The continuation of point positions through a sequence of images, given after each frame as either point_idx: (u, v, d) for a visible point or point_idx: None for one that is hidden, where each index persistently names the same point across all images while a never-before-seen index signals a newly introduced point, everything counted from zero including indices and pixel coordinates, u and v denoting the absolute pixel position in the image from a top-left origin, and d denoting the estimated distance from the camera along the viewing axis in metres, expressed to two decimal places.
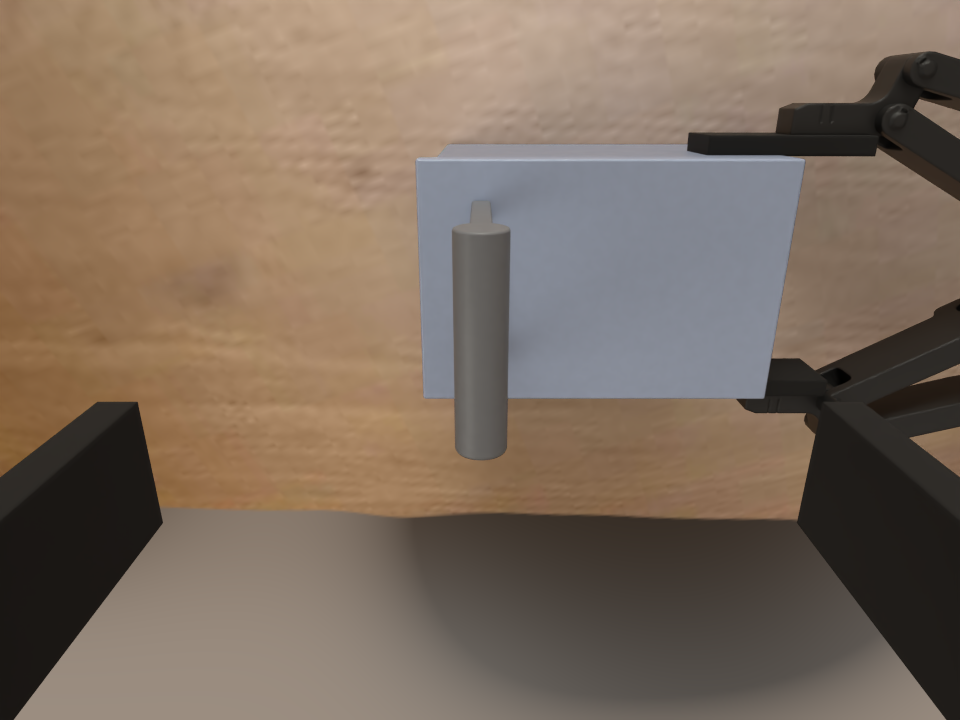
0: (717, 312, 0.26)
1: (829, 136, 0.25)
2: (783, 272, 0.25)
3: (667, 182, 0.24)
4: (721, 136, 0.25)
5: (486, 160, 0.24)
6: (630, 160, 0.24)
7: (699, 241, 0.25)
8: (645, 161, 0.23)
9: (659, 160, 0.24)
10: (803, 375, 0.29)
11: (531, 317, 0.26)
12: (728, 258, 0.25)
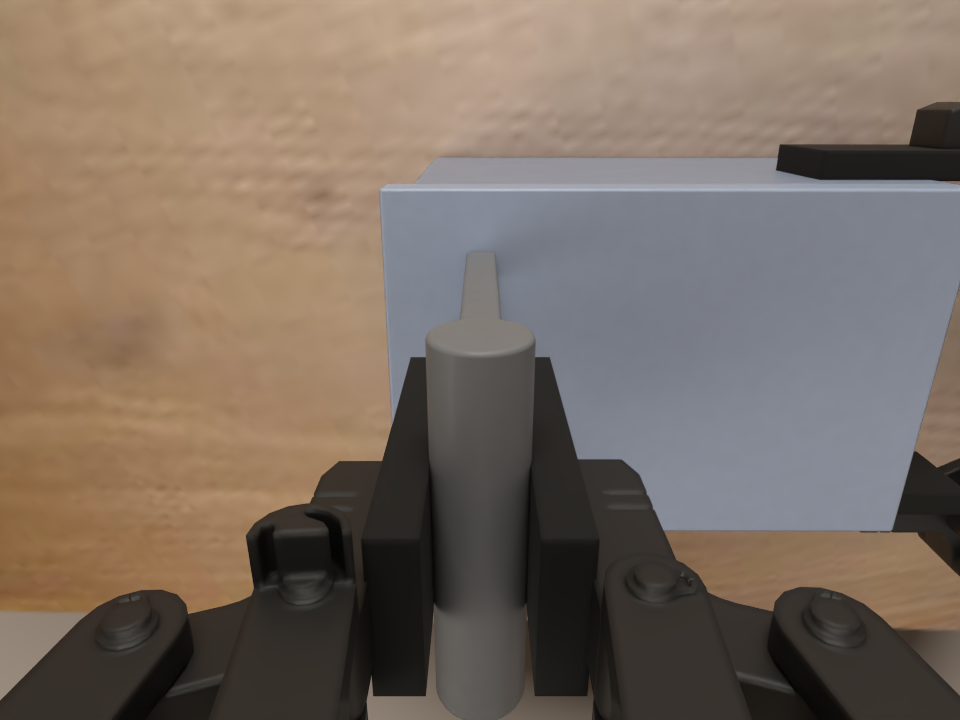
0: (832, 413, 0.17)
1: None
2: (936, 357, 0.17)
3: (768, 223, 0.15)
4: (842, 152, 0.17)
5: (489, 190, 0.15)
6: (713, 190, 0.15)
7: (812, 311, 0.16)
8: (736, 192, 0.15)
9: (758, 190, 0.15)
10: (932, 484, 0.21)
11: None
12: (854, 336, 0.16)
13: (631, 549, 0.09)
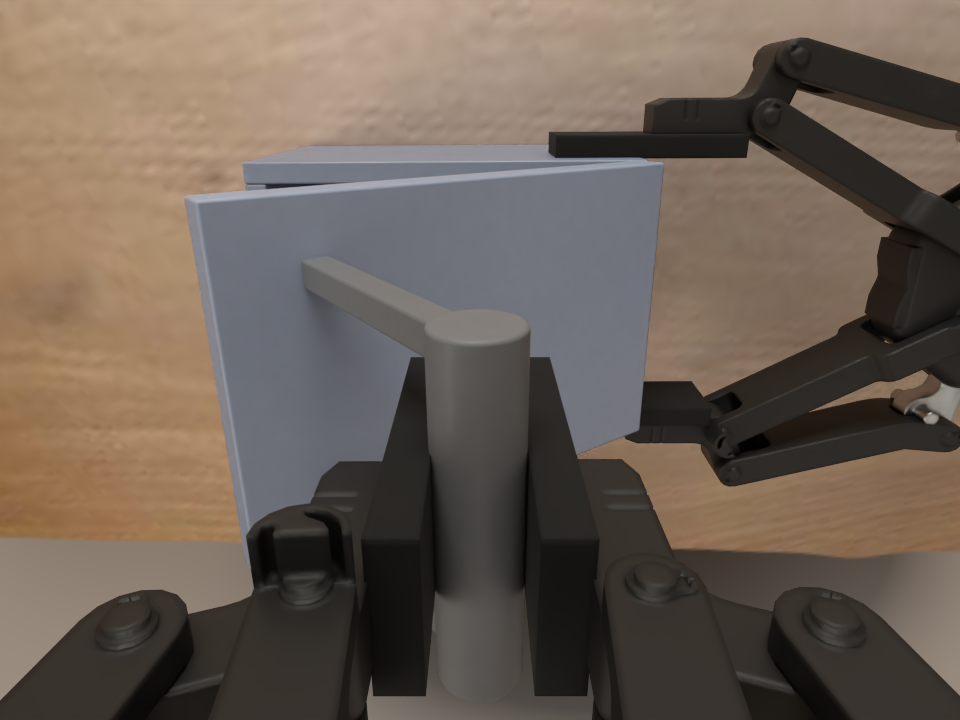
0: (597, 349, 0.21)
1: (693, 135, 0.22)
2: (650, 290, 0.22)
3: (544, 202, 0.18)
4: (569, 136, 0.22)
5: (316, 192, 0.14)
6: (504, 177, 0.17)
7: (578, 270, 0.20)
8: (521, 177, 0.17)
9: (534, 174, 0.18)
10: (687, 402, 0.26)
11: None
12: (604, 284, 0.21)
13: (631, 549, 0.09)
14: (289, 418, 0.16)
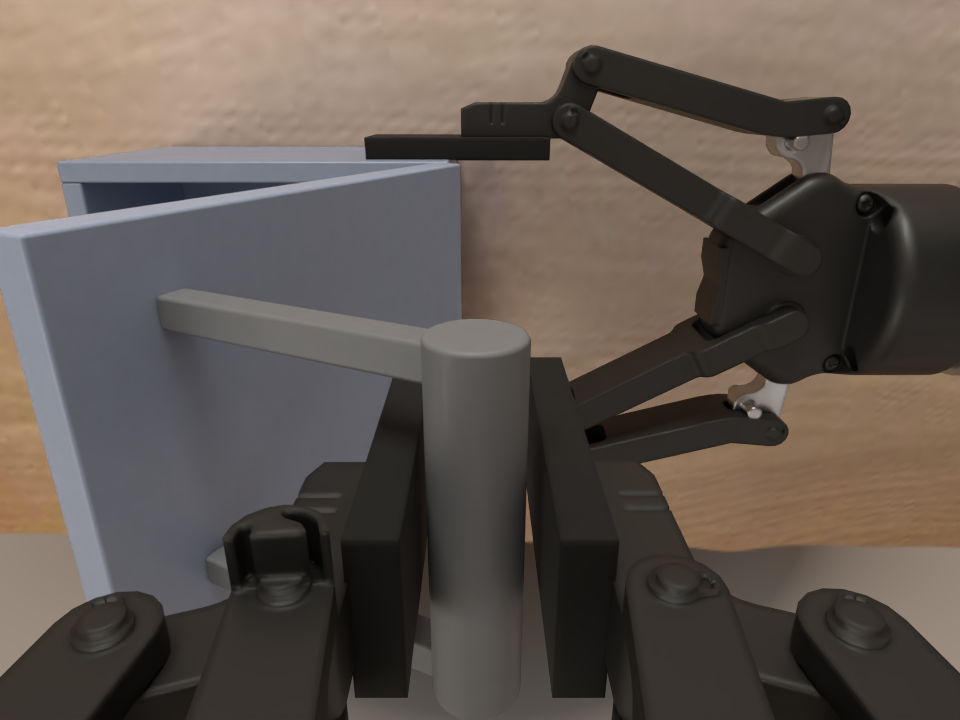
0: None
1: (496, 138, 0.23)
2: (460, 287, 0.23)
3: (375, 208, 0.18)
4: (376, 138, 0.23)
5: (164, 213, 0.12)
6: (341, 184, 0.16)
7: (407, 274, 0.20)
8: (355, 183, 0.17)
9: (365, 180, 0.17)
10: None
11: (272, 453, 0.16)
12: (427, 286, 0.21)
13: (649, 550, 0.09)
14: (158, 490, 0.13)
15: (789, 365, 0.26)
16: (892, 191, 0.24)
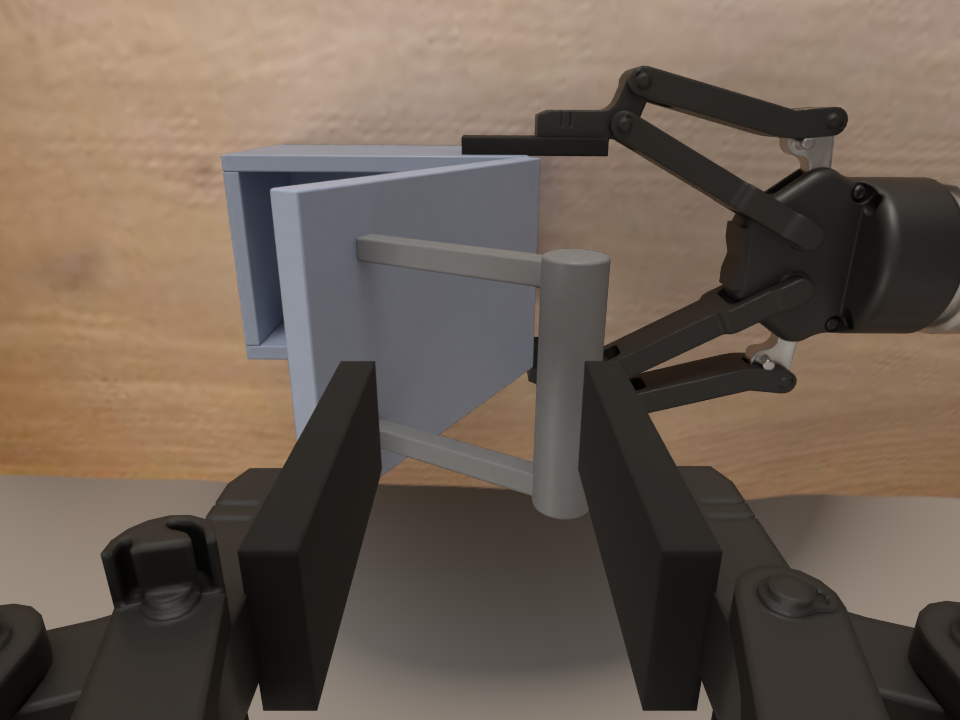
0: (511, 303, 0.28)
1: (565, 138, 0.29)
2: None
3: (482, 188, 0.24)
4: (471, 138, 0.29)
5: (364, 183, 0.18)
6: (461, 169, 0.22)
7: (500, 241, 0.26)
8: (471, 169, 0.23)
9: (477, 167, 0.23)
10: None
11: (409, 361, 0.22)
12: None
13: (743, 560, 0.09)
14: None
15: (797, 325, 0.32)
16: (881, 182, 0.30)
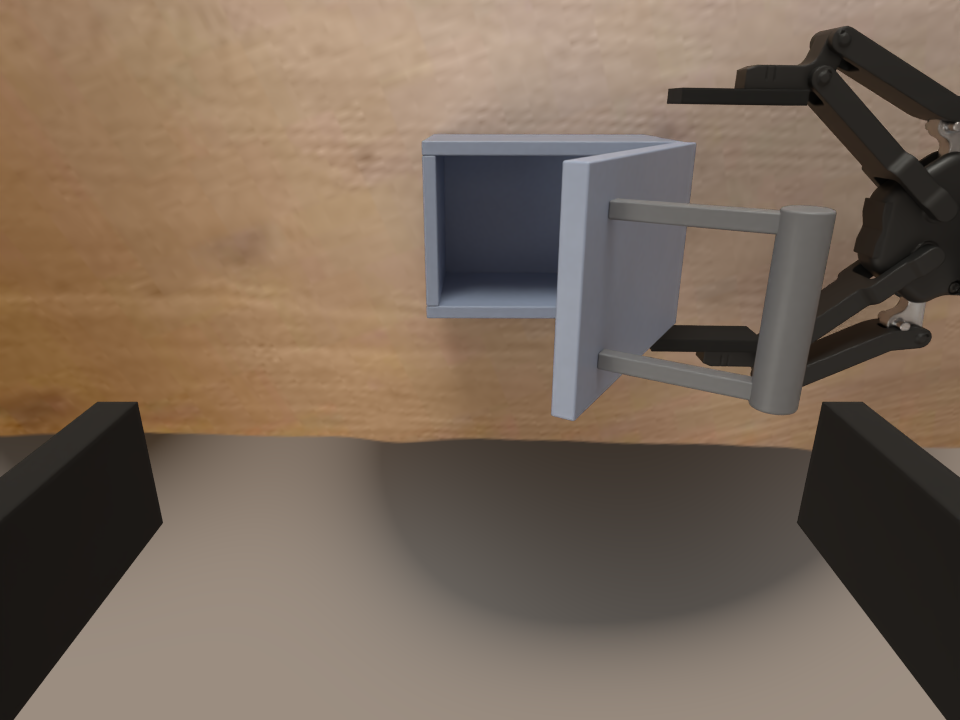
0: (670, 265, 0.33)
1: (772, 89, 0.33)
2: (686, 226, 0.34)
3: (667, 166, 0.29)
4: (691, 88, 0.33)
5: (616, 158, 0.23)
6: (659, 150, 0.28)
7: None
8: (663, 150, 0.28)
9: (666, 148, 0.28)
10: (746, 337, 0.39)
11: (620, 304, 0.27)
12: None
13: None
14: (594, 306, 0.24)
15: (925, 288, 0.37)
16: None
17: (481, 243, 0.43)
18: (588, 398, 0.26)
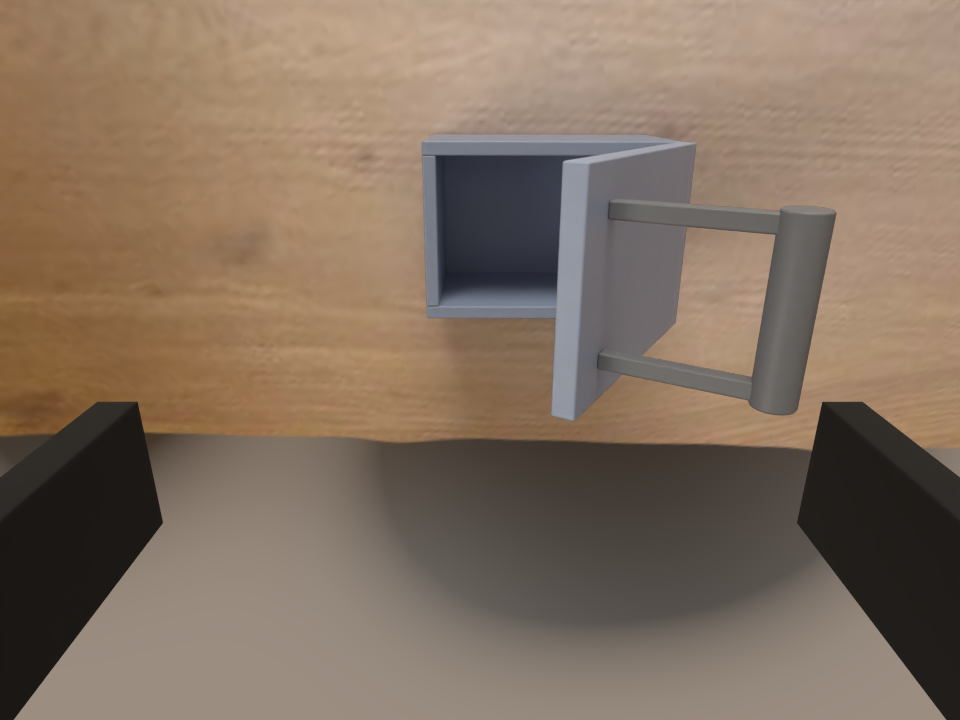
0: (670, 265, 0.33)
1: None
2: (686, 226, 0.34)
3: (667, 166, 0.29)
4: None
5: (616, 158, 0.23)
6: (659, 150, 0.28)
7: None
8: (663, 150, 0.28)
9: (666, 149, 0.28)
10: None
11: (620, 304, 0.27)
12: None
13: None
14: (594, 306, 0.24)
15: None
16: None
17: (481, 243, 0.43)
18: (588, 398, 0.26)
